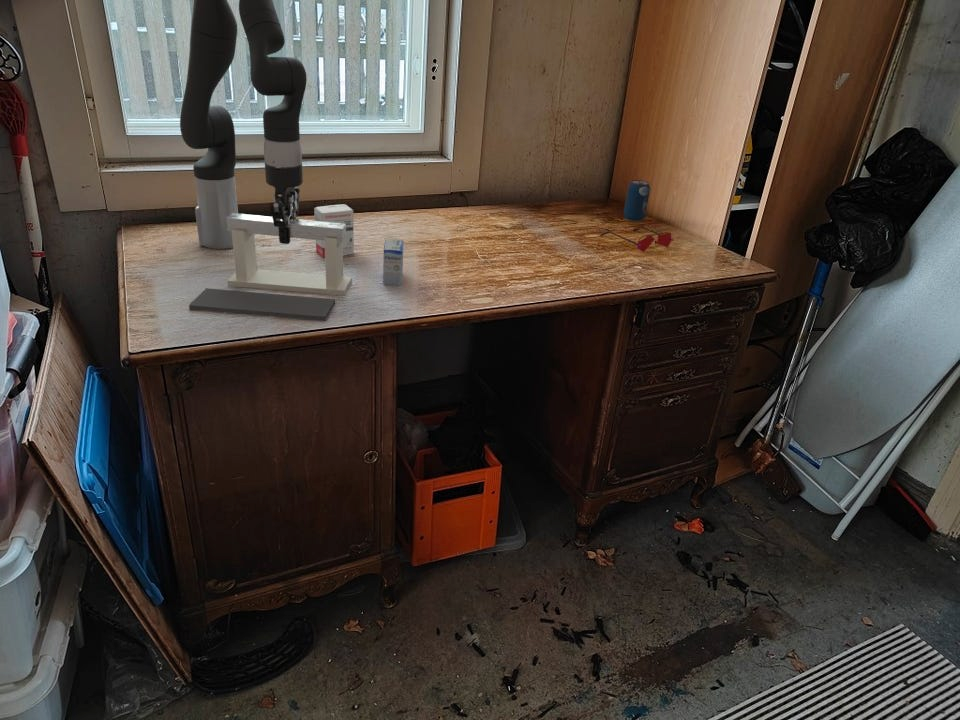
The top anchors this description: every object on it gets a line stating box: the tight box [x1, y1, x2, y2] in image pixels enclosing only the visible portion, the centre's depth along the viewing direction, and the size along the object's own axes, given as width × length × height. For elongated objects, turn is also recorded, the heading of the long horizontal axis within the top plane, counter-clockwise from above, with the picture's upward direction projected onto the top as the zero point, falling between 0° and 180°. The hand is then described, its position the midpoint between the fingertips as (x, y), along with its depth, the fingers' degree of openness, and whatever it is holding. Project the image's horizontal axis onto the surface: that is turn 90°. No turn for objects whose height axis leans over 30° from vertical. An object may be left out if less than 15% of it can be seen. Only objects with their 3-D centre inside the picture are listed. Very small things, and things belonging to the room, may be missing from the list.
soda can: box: [623, 179, 651, 223], centre depth 220 cm, size 7×7×12 cm
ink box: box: [313, 203, 355, 259], centre depth 173 cm, size 8×5×12 cm, turn 123°
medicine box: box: [382, 238, 404, 286], centre depth 161 cm, size 8×4×9 cm, turn 5°
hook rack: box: [227, 230, 353, 296], centre depth 153 cm, size 26×8×12 cm, turn 88°
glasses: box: [599, 226, 674, 252], centre depth 202 cm, size 14×16×5 cm
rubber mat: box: [188, 287, 336, 322], centre depth 144 cm, size 28×9×1 cm, turn 88°
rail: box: [226, 212, 346, 242], centre depth 150 cm, size 25×4×3 cm, turn 88°
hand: (287, 239), depth 151 cm, fingers closed on rail, 3 cm apart
